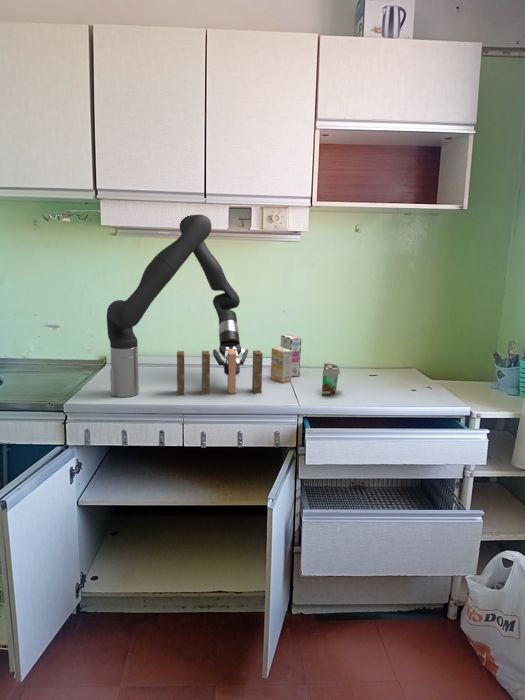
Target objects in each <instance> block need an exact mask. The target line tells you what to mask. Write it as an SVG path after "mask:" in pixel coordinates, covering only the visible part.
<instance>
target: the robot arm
mask: <svg viewBox="0 0 525 700" xmlns="http://www.w3.org/2000/svg"><path fill="white" fill-rule="evenodd" d="M189 215H190V216H188V215H186V216H187V217H185V216H184V217H185V218H184V217H183V218H184V219H183V218H182V219H183V220H182V219H181V220H182V221H181V220H180V222H181V223H180V222H179V231H180V233H181V235H179V237H178V238H177V239H176V240H175V241H173V242H172V243H170V244H168V245H167V246H166V247H165V248H164V249H162V250H161V251H160V252H158V253H157V254H156V255H155V256H154V257H153V259H152V260H151V261H150V262H149V263H148V264H147V266H146V267H145V269H144V270H143V273H142V275H141V279H140V282H139V284H138V286H137V287H136V289H135V290H134V291H133V293H132V294H130V296H129V297H128V298H127V299H125V300H122V299H118V300H114V301H112V302H111V303H110V304H109V305H108V307H107V310H106V326H107V329H106V330H107V337H108V340H109V346H110V348H109V349H110V370H109V373H110V396H111V397H118V398H129V397H134V396H137V395H138V394H139V392H140V391H139V384H140V383H139V349H138V348H139V346H138V345H139V344H138V338H137V337H136V335H135V332H134V329H133V328H134V327H136V326H137V325H138V324H139V322H140V321H141V319H142V318H143V317H144V315H145V313H146V312H147V310H148V309H149V307H150V306H151V305H152V303H153V301H154V300H155V299H156V298H157V297H158V296H159V294H160V293H161V292H162V291H163V289H164V288H165V287H166V286H167V285H168V284H169V282H170V281H171V280H172V279H173V277H174V276H175V275H176V274H177V272H178V271H179V270H180V268H181V267H182V266H183V265H184V264H185V262H186V261H187V260H188V258H190V256H191V255H192V253H193V255H194V256H195V258H196V261H198V263H199V266H200V267H201V269H202V271H203V273H204V276H205V278H206V280H207V282H208V284H209V287H210V289H211V290H212V291H214V292H217V291H218V292H219V291H221V292H222V293H218V294H216V295H214V297H213V299H212V305H213V308H214V309H215V312H216V313H217V318H218V337H219V348H218V349H212V356H213V357H214V360H215V361H216V363H217V364H218V366H223V373H224V374H225V376H228V373H229V371H228V349H235V351H236V376H239V374H240V373H241V368H240V367H241V366H243V365H244V364H245V361H246V359H247V358H248V354H249V349H247V348H245V349H244V348H242V347H241V344H240V343H241V342H240V333H239V327H238V319H237V313H236V312H235V311H234V310H232V309H236V308H238V307H239V306H240V302H241V301H240V297H239V295H238V293H237V291H236V290H235V289H234V288H233V287H232V285H231V284H230V282H229V281H228V279H227V278H226V277H227V276H226V275H225V272H224V270H223V268H222V266H221V264H220V262H219V261H218V260H217V259H216V258H215V257H214V256H215V255H214V254H212V252H211V251H210V249H209V248H208V246H207V244H206V243H205V240H206V239H207V238H208V237H209V235H210V234H211V232H212V222H211V220H210V218H209V217H208V216H207V215H204V214H189ZM220 354H221V355H222V356H223V357H224V359H222V358H221V355H220ZM240 354H241V356H242V357H241V359H240V358H239V355H240Z"/></svg>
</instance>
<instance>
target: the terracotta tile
mask: <svg viewBox="0 0 525 700" xmlns="http://www.w3.org/2000/svg"><path fill="white" fill-rule="evenodd" d="M227 364H228V371H229V373H228V375H227V391H228V393H229V394H236V390H237V389H236V388H237V386H236V385H237V375H236V351H235V349H228V361H227Z"/></svg>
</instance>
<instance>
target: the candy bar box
mask: <svg viewBox="0 0 525 700" xmlns="http://www.w3.org/2000/svg"><path fill="white" fill-rule="evenodd" d="M280 347H282V348H285V349H288V350H292V351H293V352H292V373H291V378H297V377H298V378H299V377H300V371H301V369H300V368H301V367H300V366H301V351H302V350H301V349H302V338H300V337H297V336H295V335H293V334H281V335H280Z"/></svg>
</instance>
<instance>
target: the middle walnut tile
mask: <svg viewBox="0 0 525 700" xmlns="http://www.w3.org/2000/svg"><path fill="white" fill-rule="evenodd" d="M210 353H211V352H210V351H209V350H201V393H203V394H211V393H210V390H211V389H210V385H211V384H210V383H211V382H210V381H211V380H210V379H211V378H210V377H211V354H210ZM203 394H202V395H203Z"/></svg>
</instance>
